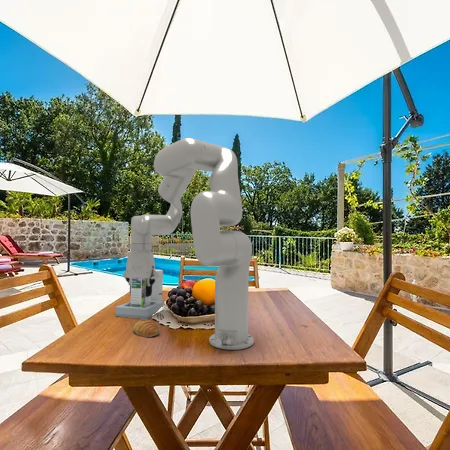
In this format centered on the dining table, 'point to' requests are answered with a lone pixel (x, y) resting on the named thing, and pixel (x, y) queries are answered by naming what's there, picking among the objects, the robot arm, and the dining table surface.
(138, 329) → the pastry
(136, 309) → the socket block
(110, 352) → the dining table surface
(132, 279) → the syrup box
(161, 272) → the skincare box
